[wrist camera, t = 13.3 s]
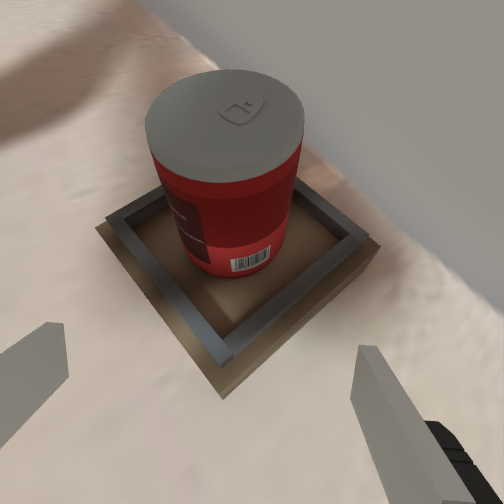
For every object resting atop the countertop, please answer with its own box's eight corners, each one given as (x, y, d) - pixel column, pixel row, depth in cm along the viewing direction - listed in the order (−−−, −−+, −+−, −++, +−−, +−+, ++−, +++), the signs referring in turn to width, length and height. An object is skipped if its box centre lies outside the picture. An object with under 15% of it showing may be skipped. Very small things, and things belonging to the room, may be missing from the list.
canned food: (298, 218, 26) (328, 90, 16) (255, 300, 22) (261, 197, 12) (217, 186, 27) (200, 53, 18) (164, 257, 24) (108, 138, 14)
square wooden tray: (113, 252, 28) (86, 216, 24) (247, 169, 34) (247, 126, 29) (222, 399, 22) (216, 390, 18) (364, 269, 28) (388, 235, 23)
